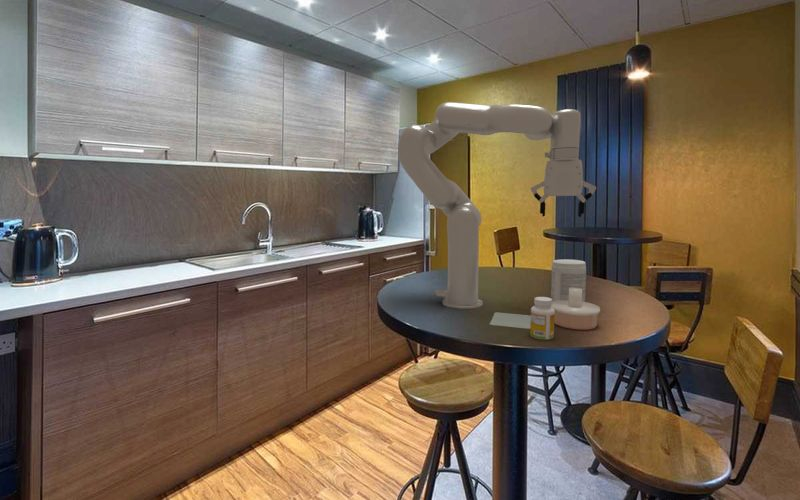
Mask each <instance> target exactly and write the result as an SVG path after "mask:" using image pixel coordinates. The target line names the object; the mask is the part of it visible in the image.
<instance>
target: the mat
mask: <svg viewBox="0 0 800 500" xmlns="http://www.w3.org/2000/svg"><path fill="white" fill-rule="evenodd" d="M489 325H490V326H500V327H507V328H508V327H509V328H515V329H516V328H517V329H527V330H530V325H531V314H529V315H528V314H519V313H508V312H497V311H495V312H494V314H493V316H492V319H491V320H490V322H489Z"/></svg>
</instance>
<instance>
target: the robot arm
mask: <svg viewBox="0 0 800 500" xmlns="http://www.w3.org/2000/svg"><path fill="white" fill-rule="evenodd" d="M460 133H461V134H471V135H479V136H491V135H494V134H498V133H515V134H523V135H524V136H525V137H526V138H527V139H529V140H531V141H540V140H541V141H542V140H547V139H550V146H549V147H550V148H549V149H550V150H549V151H548V152H544V158H548V159H549V160H547V162H546V165H545V170H544V179H543V181H542V182H540V183H537V184H535V185H533V186H532V187H531V188H530V190H531V191H530V192H531V193H532V195H533V196H534V198H535V199H536V200H537V201H538V202H539V204H540V205H539V214H541V215H542V217H545V216H546V200H547V199H548V197H574V196H575V197H577V199H578V200H579V201H578V203H577V204H578V205H577V217H578V218H582V215H583V214H585V204H586V203H585V202H587V201H588V200H589V199H590V198H591V197H592V196H593V195H594V193H595V192H596V190H597V186H595V185H593V184H591V183H589V182H587V181H586V180H584V179H583V176H584V175H583V170H584V169H583V161H582V160H581V159H579V156H580V154H579V153H580V135H581V112H580V111H579V110H578V109H571V108H570V109H569V108H566V109H561V110H557V111H555V112H554V113H553V114H552V113H551V112H550V110H549V109H546V108H545V107H542V106H536V105H528V104H526V105H525V104H524V105H523V104H513V103H511V104H492V105H491V104H481V103H479V104H477V103H469V102H467V103H466V102H457V101H445V102H443V103H441V104H438V106H437V107H436V110H435V112H434V120H433V121H432V122H430V123H428V125H426V126H423V125H420V124H411V125H408V126H406V127H405V128H404V129H403V131H402V132H401V134H400V137H399V139H398V143H397V154H398V155H397V156H398V159H399V162H400V165H401V166H402V168H403V169H404V170H403V171H405V173H406V174H407V175H408V177H410V179H411V180H412V182H413V183H414V184H415V186H416V187H417V188H418V189H419V191H420V192H421V193H422V195H423V196H424V197H425V198H426V199H427V201H428V202H429V203H430V204H431V206H432V207H435V208H436V209H439V210H441V212H442V213H443V214H444V215H445V216H446V217H447V221H446V233H447V234H446V235H447V289H444V290H441V289H435V290H434V296H435V297H436V298H443V300H442V305H443V306H444V307H449V308H452V309H461V310H464V309H465V310H467V309H469V310H471V309H476V308H480V307H482V306H483V304H484V303H483V300H481V299H480V298H479V258H480V257H479V252H480V250H479V247H480V246H479V245H480V244H479V241H480V240H479V239H480V238H479V237H480V236H479V235H480V234H479V230H480V226H481V224H482V214H481V212H480V210H479V209H478V207H477V206H476V205H475V204H474V202H472V201H471V199H470V198H469V196H467V194H466V193H465V192H464V191H463V190H462V189H461V187H460V186H459V185H458V184H457V183H456V182H454V181H453V180H450V179H448V178H447V177H446V176H445V175H444V174H443V173H442V171H441V170H440V169H439V168H438V167H437V166H436V164H435V163H434V162H433V161H432V160H431V158H430V157H429V155H431V154H434V153H435V152H436V151H437V150H439V149H440V148H441V147H443V146H444V145H445V144H447V143H448V142H450V141H451V140H452V139H453V138H455V137H456V136H458V134H460ZM584 187H585V188H587V189H588V190H589V191H587V193H586V194H585V195H584V196H583V194H582V193H583V188H584ZM540 188H543V195H542V196H541V195H540V194H539V193H538V189H540Z"/></svg>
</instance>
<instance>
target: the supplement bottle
mask: <svg viewBox="0 0 800 500" xmlns="http://www.w3.org/2000/svg"><path fill="white" fill-rule="evenodd" d="M533 299H534V300H533V301H534V302H533V303H534V305H533V306H532V307H531V308H530V315H531V325H530V329H529V330H530V332H529V334H530V336H531V337H532V338H535V339H538V340H551V339H553V338H554V336H555V323H554V317H555V311H554V309H553V308H552V307H551V305H552V299H551V297H547V296H536V297H534V298H533Z"/></svg>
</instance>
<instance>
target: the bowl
mask: <svg viewBox="0 0 800 500" xmlns="http://www.w3.org/2000/svg"><path fill="white" fill-rule="evenodd" d="M554 311H555V310H554ZM598 314H599V313H598ZM598 314H596V315H587V316H582V315H571V314H565V313H561V312H557V311H555V317H554V325H557V326H559V327H562V328H567V329H572V330H592V329H595V328H596V327H597V326H598Z"/></svg>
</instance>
